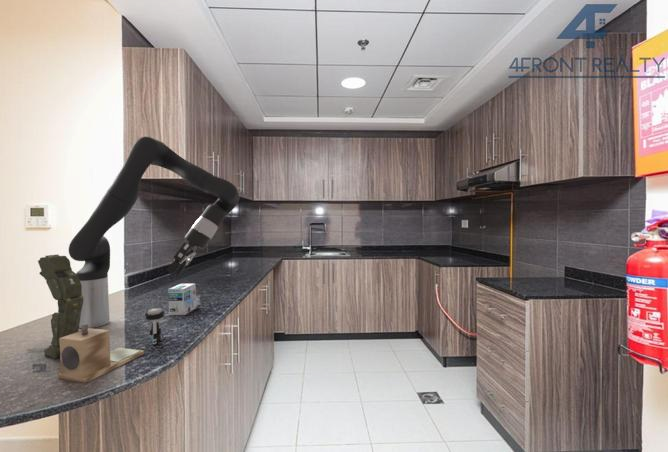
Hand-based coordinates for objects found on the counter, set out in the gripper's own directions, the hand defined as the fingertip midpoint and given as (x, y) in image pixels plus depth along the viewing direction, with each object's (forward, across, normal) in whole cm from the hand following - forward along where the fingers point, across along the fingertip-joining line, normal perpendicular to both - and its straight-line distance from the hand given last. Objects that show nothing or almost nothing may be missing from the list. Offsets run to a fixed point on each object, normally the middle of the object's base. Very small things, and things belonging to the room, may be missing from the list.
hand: (172, 273), depth 105 cm
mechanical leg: (+33, +2, -11) cm, 35 cm away
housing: (+27, +14, +2) cm, 31 cm away
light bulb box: (+13, -31, +6) cm, 34 cm away
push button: (+20, +1, +8) cm, 22 cm away
